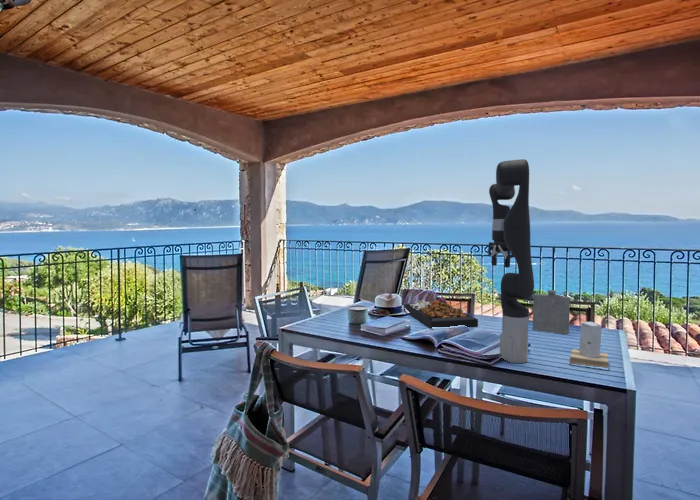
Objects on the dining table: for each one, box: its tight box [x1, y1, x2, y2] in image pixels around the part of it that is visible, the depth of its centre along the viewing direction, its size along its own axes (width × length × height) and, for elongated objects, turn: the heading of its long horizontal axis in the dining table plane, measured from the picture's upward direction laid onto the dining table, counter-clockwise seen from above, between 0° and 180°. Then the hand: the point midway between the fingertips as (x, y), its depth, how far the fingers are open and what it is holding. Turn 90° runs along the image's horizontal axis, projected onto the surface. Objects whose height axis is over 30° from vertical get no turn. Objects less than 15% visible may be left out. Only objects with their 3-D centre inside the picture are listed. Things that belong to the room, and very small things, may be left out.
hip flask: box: [532, 289, 571, 336], centre depth 205 cm, size 16×4×20 cm, turn 54°
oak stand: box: [569, 348, 609, 369], centre depth 159 cm, size 12×12×3 cm
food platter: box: [403, 294, 479, 329], centre depth 235 cm, size 45×25×10 cm, turn 10°
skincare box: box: [578, 321, 603, 358], centre depth 159 cm, size 6×4×12 cm
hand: (500, 266), depth 188 cm, fingers open, 8 cm apart
